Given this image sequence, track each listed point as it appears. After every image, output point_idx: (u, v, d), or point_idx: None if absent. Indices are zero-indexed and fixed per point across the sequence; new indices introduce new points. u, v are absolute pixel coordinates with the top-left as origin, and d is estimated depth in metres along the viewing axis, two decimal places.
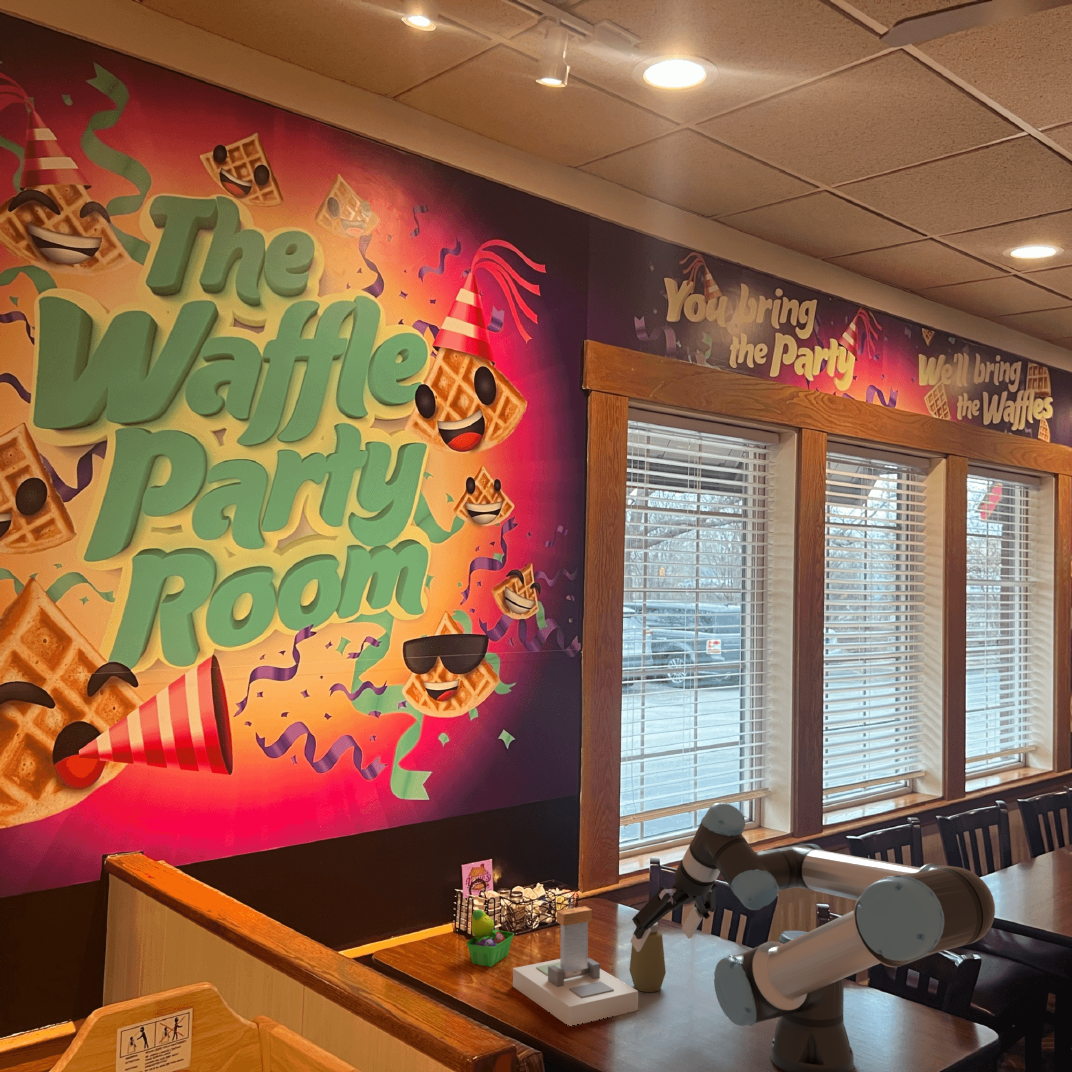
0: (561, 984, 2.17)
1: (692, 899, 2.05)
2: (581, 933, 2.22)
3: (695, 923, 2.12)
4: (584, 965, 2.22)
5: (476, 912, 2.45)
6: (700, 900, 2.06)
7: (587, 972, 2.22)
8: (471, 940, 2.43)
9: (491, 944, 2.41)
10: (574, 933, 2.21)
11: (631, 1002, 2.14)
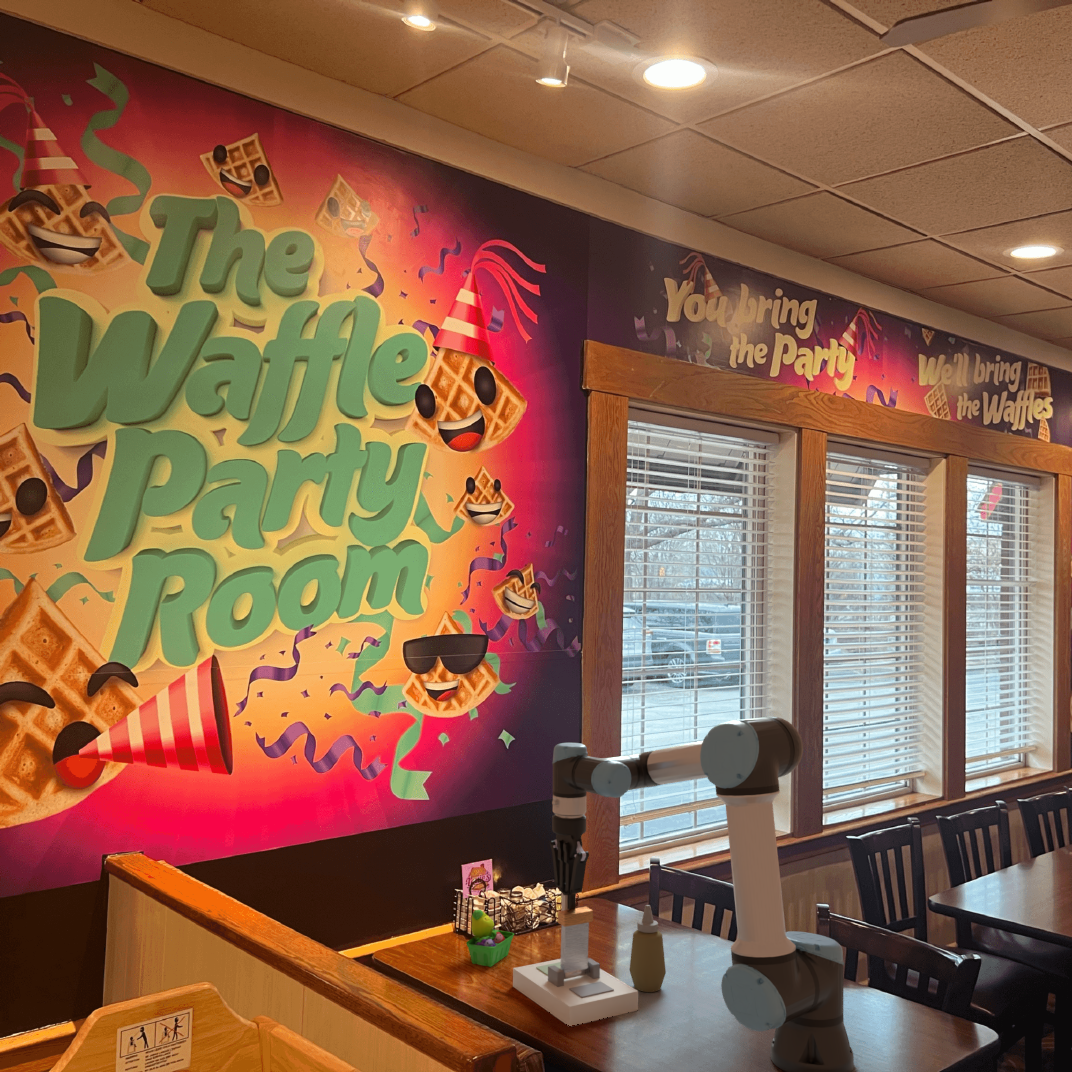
0: (561, 984, 2.17)
1: None
2: (582, 934, 2.21)
3: None
4: (584, 965, 2.22)
5: (476, 912, 2.45)
6: None
7: (587, 972, 2.22)
8: (471, 940, 2.43)
9: (491, 944, 2.41)
10: (575, 934, 2.21)
11: (631, 1002, 2.14)
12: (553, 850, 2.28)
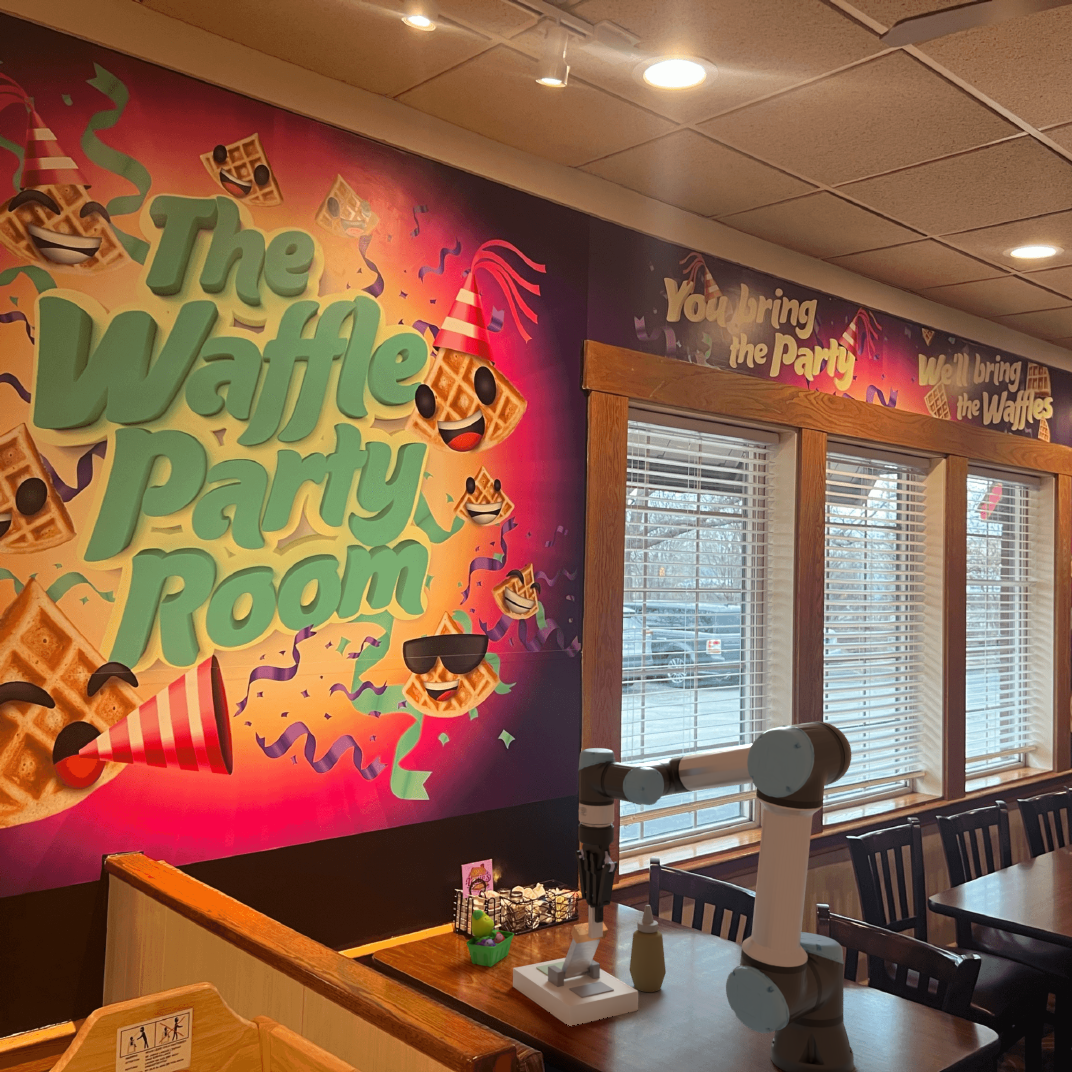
0: (561, 984, 2.17)
1: None
2: (591, 946, 2.18)
3: None
4: (585, 969, 2.21)
5: (476, 912, 2.45)
6: None
7: (586, 974, 2.22)
8: (471, 940, 2.43)
9: (491, 944, 2.41)
10: (584, 946, 2.17)
11: (631, 1002, 2.14)
12: (579, 860, 2.19)
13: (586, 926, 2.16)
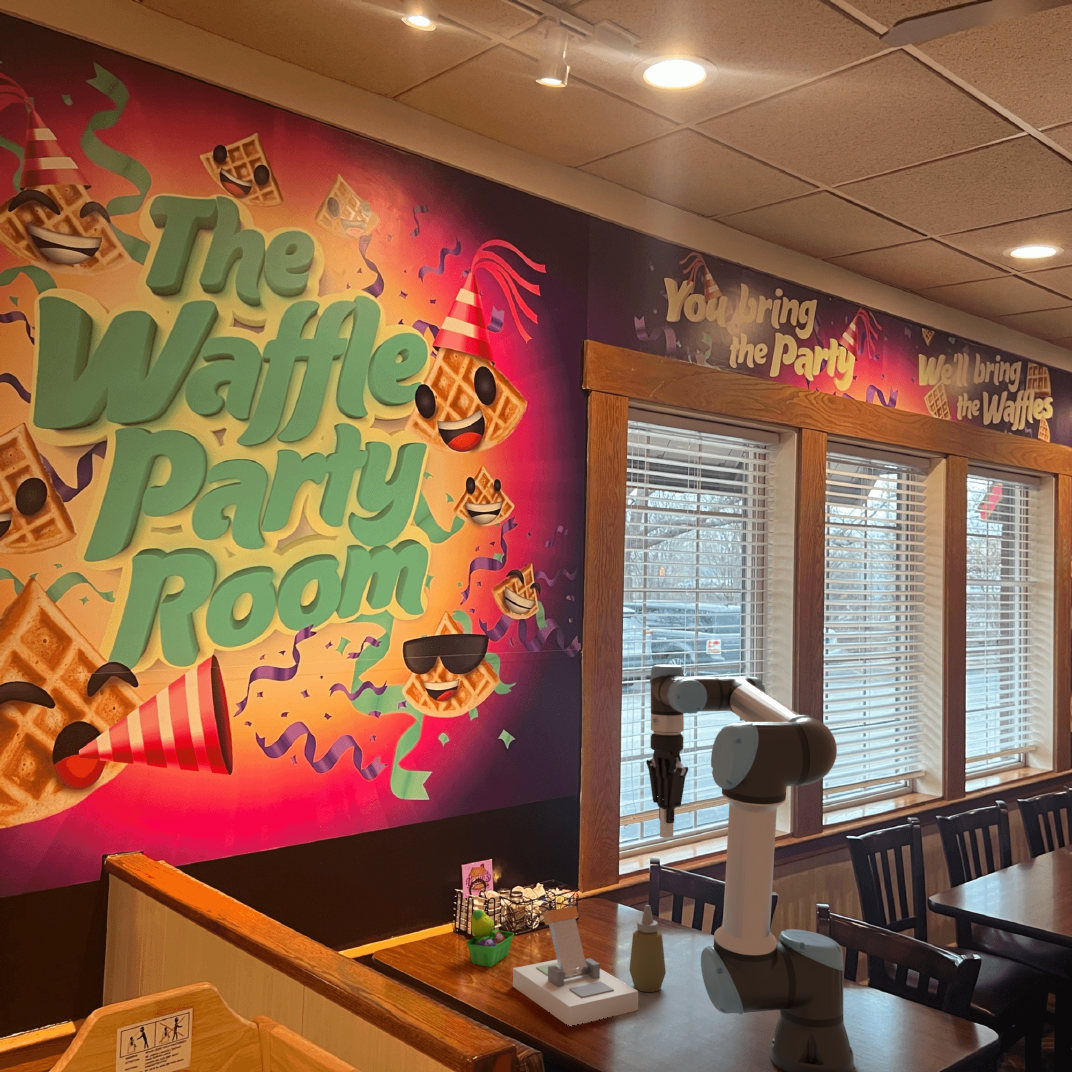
0: (561, 984, 2.17)
1: None
2: (571, 930, 2.25)
3: None
4: (582, 963, 2.22)
5: (476, 912, 2.45)
6: None
7: (587, 970, 2.22)
8: (471, 940, 2.43)
9: (491, 944, 2.41)
10: (564, 930, 2.24)
11: (631, 1002, 2.14)
12: (650, 768, 2.37)
13: None
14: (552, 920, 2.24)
